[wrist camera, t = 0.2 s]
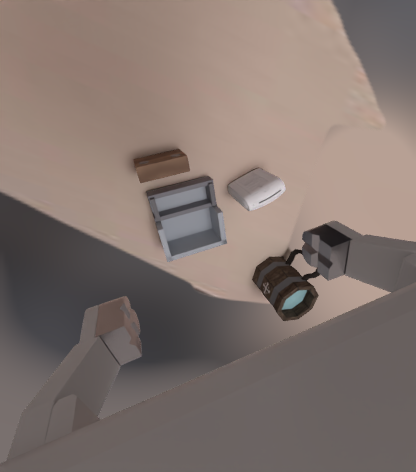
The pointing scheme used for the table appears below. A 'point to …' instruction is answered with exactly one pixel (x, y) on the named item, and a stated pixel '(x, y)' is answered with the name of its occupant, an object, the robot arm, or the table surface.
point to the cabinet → (187, 217)
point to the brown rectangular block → (161, 165)
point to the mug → (286, 287)
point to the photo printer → (256, 189)
